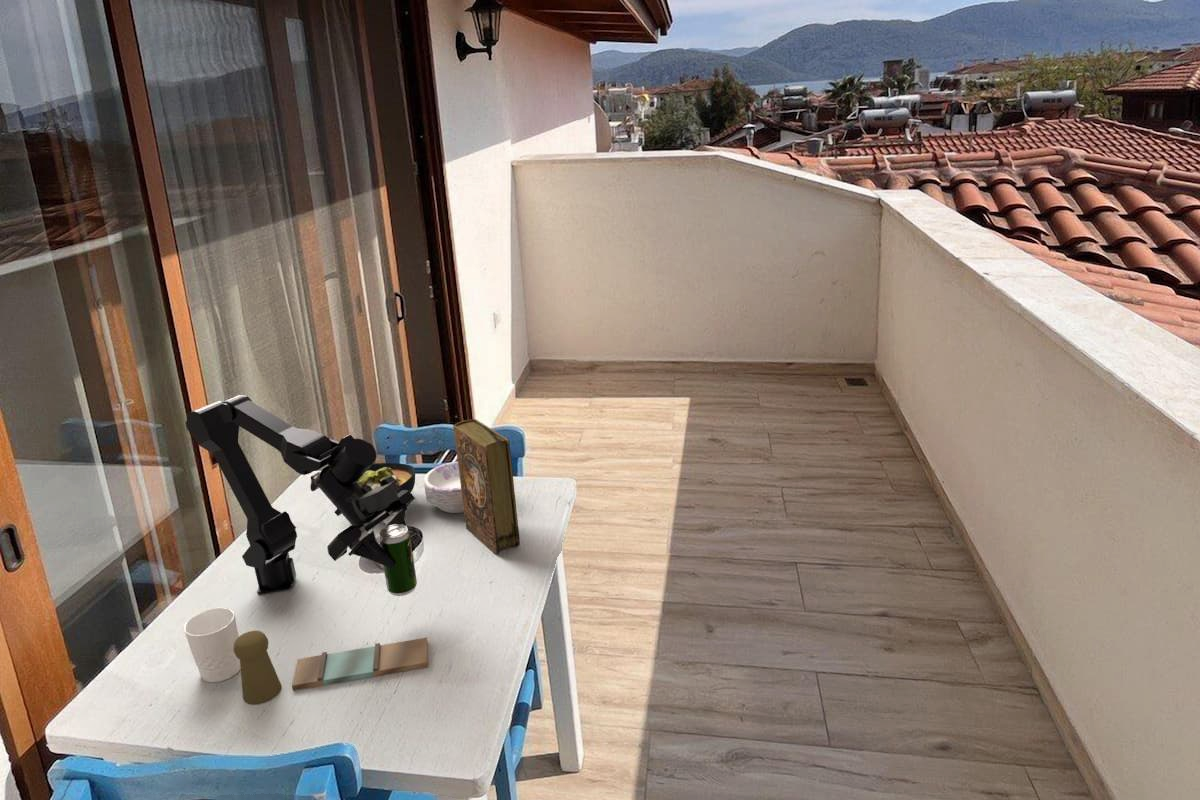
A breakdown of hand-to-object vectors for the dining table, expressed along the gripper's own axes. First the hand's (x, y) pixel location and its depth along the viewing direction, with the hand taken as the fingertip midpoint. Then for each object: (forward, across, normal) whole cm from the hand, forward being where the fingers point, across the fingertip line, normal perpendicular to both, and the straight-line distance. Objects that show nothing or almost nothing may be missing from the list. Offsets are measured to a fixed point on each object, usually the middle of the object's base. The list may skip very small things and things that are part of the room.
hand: (403, 558), depth 147 cm
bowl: (-15, +34, +34) cm, 50 cm away
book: (+8, +31, +12) cm, 34 cm away
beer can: (+4, 0, +6) cm, 7 cm away
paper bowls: (-3, +42, +23) cm, 48 cm away
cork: (+2, -25, +18) cm, 31 cm away
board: (+9, -14, +10) cm, 19 cm away
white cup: (-6, -24, +26) cm, 36 cm away
